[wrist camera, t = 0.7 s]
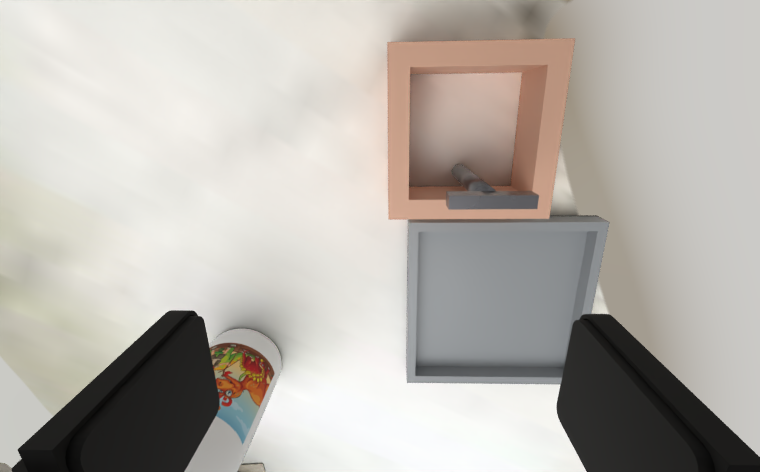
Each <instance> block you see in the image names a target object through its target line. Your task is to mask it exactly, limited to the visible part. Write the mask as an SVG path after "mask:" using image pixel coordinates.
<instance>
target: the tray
mask: <svg viewBox="0 0 760 472" xmlns="http://www.w3.org/2000/svg"><path fill="white" fill-rule="evenodd" d="M608 227H609V222H608V221H606V220H604V219H602V218H600V217H599V216H550V217H549V219H408V266H407V349H406V373H407V383H488V384H561V381H562V376H563V371H564V366H565V361H566V356H567V350H568V345H569V340H570V335H571V330H572V325H573V323H574V321H575V320H579V319H580V317H581V316H582V315H583V314H591V312H592V307H593V302H594V297H595V292H596V287H597V282H598V277H599V272H600V267H601V262H602V257H603V252H604V247H605V242H606V237H607V232H608Z"/></svg>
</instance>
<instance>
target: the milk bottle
mask: <svg viewBox="0 0 760 472" xmlns="http://www.w3.org/2000/svg"><path fill="white" fill-rule="evenodd" d="M209 348H210V353H211V358H212V363H213V368H214V373H215V378H216V383H217V388H218V393H219V398H220V405H219V410H218V413H217V415H216V417H215V419H214V420H213V422H212V424H211V426H210V427H209V429H208V431H207V433H206V434H205V436H204V438H203V440H202V442H201V443H200V445H199V447H198V449H197V450H196V452H195V454H194V456H193V457H192V459H191V461H190V463H189V465H188V466H187V468H186V470H185V472H237V471H238V469H239V467H240V465H241V463H242V461H243V459H244V457H245V454H246V452H247V450H248V448H249V446H250V443H251V441H252V439H253V436H254V434H255V432H256V430H257V427H258V425H259V423H260V420H261V418H262V416H263V413H264V411H265V409H266V406H267V404H268V402H269V399H270V397H271V394H272V392H273V390H274V387H275V385H276V383H277V380H278V378H279V375H280V372H281V368H282V361H281V355H280V353H279V350H278V348H277V347H276V345H275V344H274V343H273V342H272V341H271V339H269V338H268V337H267V336H265V335H264V334H262V333H260V332H258V331H255V330H252V329H245V328H237V329H232V330H229V331H226V332H224V333H222V334H220V335H219V336H217V337H216V338H215V339H214V340H213V342H212V343H211V344H210V345H209Z"/></svg>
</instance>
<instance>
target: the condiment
mask: <svg viewBox="0 0 760 472" xmlns="http://www.w3.org/2000/svg"><path fill="white" fill-rule="evenodd" d="M237 472H265V470H264V467H263V464H249V465H240V467H239V469H238V471H237Z"/></svg>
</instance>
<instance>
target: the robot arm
mask: <svg viewBox="0 0 760 472" xmlns="http://www.w3.org/2000/svg"><path fill="white" fill-rule="evenodd" d="M219 405H220V398H219V393H218V388H217V383H216V378H215V373H214V368H213V363H212V358H211V353H210V348H209V343H208V338H207V333H206V328H205V323H204V320H203V318H202V317H200V316H198V315H197V313H196V312H195V311H168V312H167V313H166V314H165V315H163V316H162V317H161V318H160V319H159V320H158V321H157V322H156V323H155V324H154V325H153V326H151V327H150V328H149V329H148V330H147V331H146V332H145V333H144V334H143V335H142V336H141V337H140V338H138V339H137V340H136V341H135V342H134V343H133V344H132V345H131V346H130V347H129V348H128V349H126V350H125V351H124V352H123V353H122V354H121V355H120V356H119V357H118V358H117V359H116V360H115V361H113V362H112V363H111V364H110V365H109V366H108V367H107V368H106V369H105V370H104V371H103V372H101V373H100V374H99V375H98V376H97V377H96V378H95V379H94V380H93V381H92V382H91V383H90V384H88V385H87V386H86V387H85V388H84V389H83V390H82V391H81V392H80V393H79V394H78V395H76V396H75V397H74V398H73V399H72V400H71V401H70V402H69V403H68V404H67V405H66V406H65V407H63V408H62V409H61V410H60V411H59V412H58V413H57V414H56V415H55V416H54V417H53V418H51V419H50V420H49V421H48V422H47V423H46V424H45V425H44V426H43V427H42V428H41V429H40V430H38V432H36V433H35V434H34V435H33V436H32V437H31V438H30V439H29V440H28V441H26V442H25V444H23V445H22V446H21V447H20V448H19V449H18V452H19V454H20V456H21V458H22V459H21V460H20V461H19V462H18V463H17V464H16V465H15V466H14V467H13V468H10V467H9V466H8V465H7V464H5V463H0V472H185V470H186V468H187V466H188V465H189V463H190V461H191V459H192V457H193V456H194V454H195V452H196V450H197V449H198V447H199V445H200V443H201V442H202V440H203V438H204V436H205V434H206V433H207V431H208V429H209V427H210V426H211V424H212V422H213V420H214V419H215V417H216V415H217V413H218V410H219ZM557 414H558V418H559V420H560V422H561V424H562V426H563V428H564V430H565V432H566V433H567V435H568V437H569V439H570V441H571V443H572V445H573V447H574V448H575V450H576V452H577V454H578V456H579V458H580V460H581V462H582V463H583V465H584V467H585V469H586V471H587V472H760V457H759V456H758V455H757V454H756V453H755V452H754V451H753V450H752V449H751V448H749V447H748V446H747V445H746V444H745V443H744V442H743V441H742V440H741V439H740V438H739V437H738V436H737V435H736V434H735V433H734V432H733V431H732V430H731V429H730V428H729V427H728V426H726V425H725V424H724V423H723V422H722V421H721V420H720V419H719V418H718V417H717V416H716V415H715V414H714V413H713V412H712V411H711V410H710V409H709V408H707V406H706V405H705V404H703V403H702V402H701V401H700V400H699V399H698V398H697V397H696V396H695V395H694V394H693V393H692V392H691V391H690V390H689V389H688V388H687V387H685V385H684V384H682V383H681V382H680V381H679V380H678V379H677V378H676V377H675V376H674V375H673V374H672V373H671V372H670V371H669V370H668V369H667V368H666V367H664V365H663V364H662V363H661V362H659V361H658V360H657V359H656V358H655V357H654V356H653V355H652V354H651V353H650V352H649V351H648V350H647V349H646V348H645V347H644V346H643V345H642V344H641V343H640V342H639V341H637V340H636V339H635V338H634V337H633V336H632V335H631V334H630V333H629V332H628V331H627V330H626V329H625V328H624V327H623V326H622V325H621V324H620V323H619V322H618V321H617V320H616V319H614V318H613V317H612V316H611V315H609V314H583V315H582V316H581V317H580V319H579V320H575V321H574V323H573V325H572V330H571V335H570V340H569V345H568V350H567V356H566V361H565V366H564V371H563V376H562V381H561V386H560V391H559V396H558V401H557Z"/></svg>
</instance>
